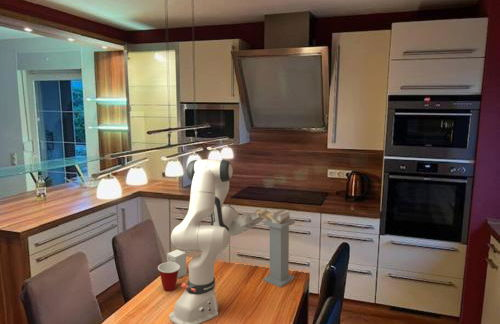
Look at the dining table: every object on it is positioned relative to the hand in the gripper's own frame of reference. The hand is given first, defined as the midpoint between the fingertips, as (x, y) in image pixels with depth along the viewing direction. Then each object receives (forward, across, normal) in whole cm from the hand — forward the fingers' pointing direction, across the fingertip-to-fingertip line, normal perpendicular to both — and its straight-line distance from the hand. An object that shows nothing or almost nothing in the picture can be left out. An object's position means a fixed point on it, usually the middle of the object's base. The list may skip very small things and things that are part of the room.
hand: (263, 213), depth 192 cm
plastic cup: (-40, -42, +16) cm, 60 cm away
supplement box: (-48, -30, +12) cm, 58 cm away
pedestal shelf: (-8, 0, +34) cm, 35 cm away
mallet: (+3, 0, +4) cm, 5 cm away
